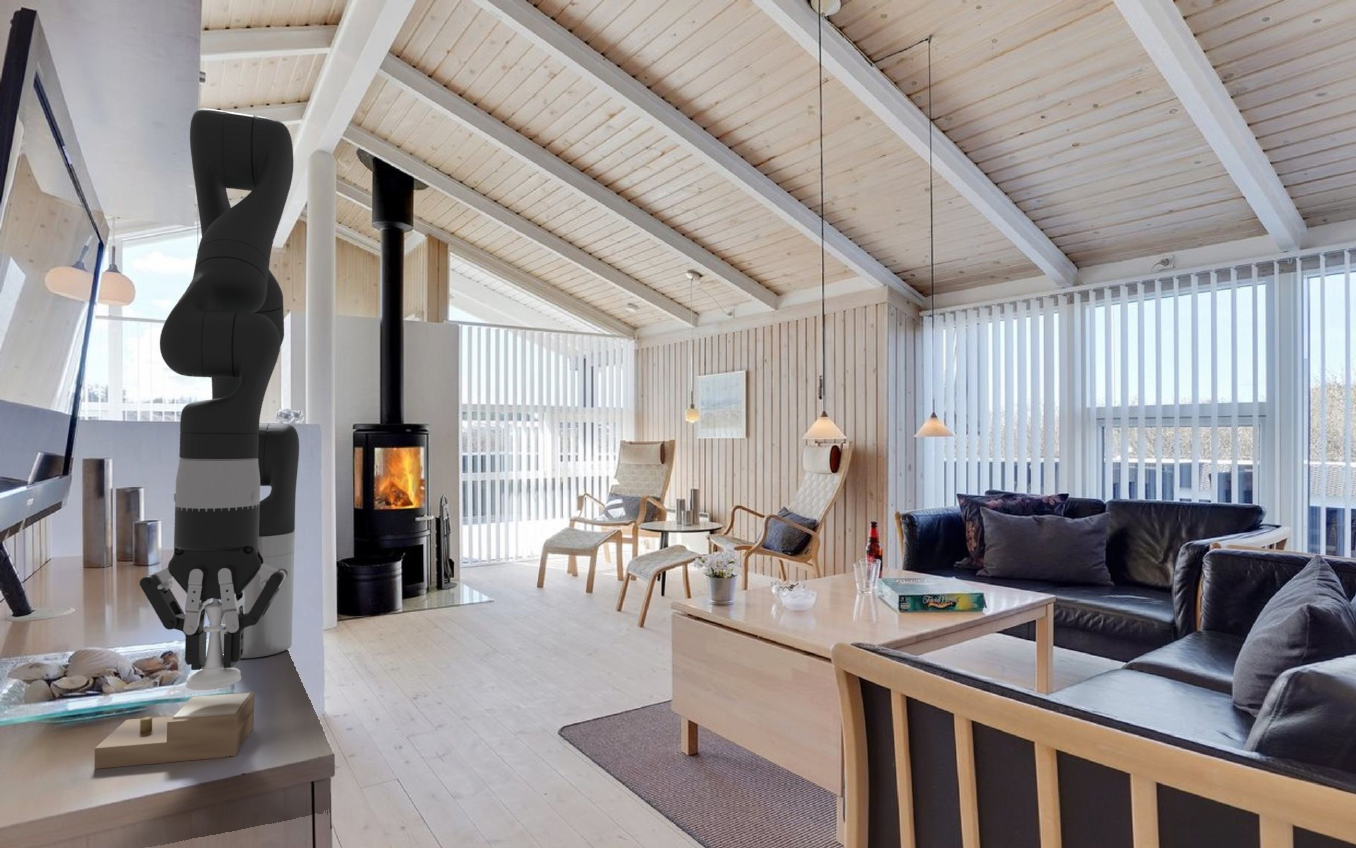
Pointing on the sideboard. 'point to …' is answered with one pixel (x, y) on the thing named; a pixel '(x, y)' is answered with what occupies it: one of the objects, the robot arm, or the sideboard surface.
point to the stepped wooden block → (182, 733)
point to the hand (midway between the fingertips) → (214, 666)
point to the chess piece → (213, 655)
